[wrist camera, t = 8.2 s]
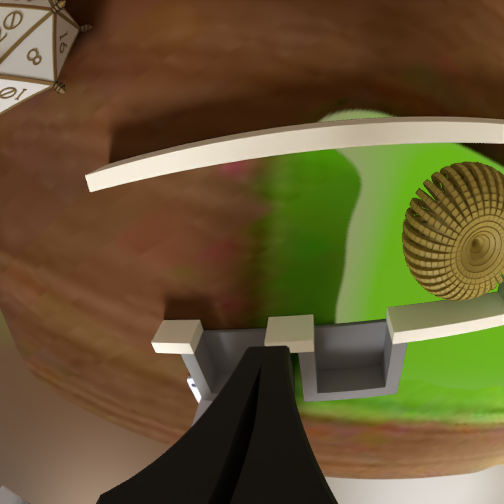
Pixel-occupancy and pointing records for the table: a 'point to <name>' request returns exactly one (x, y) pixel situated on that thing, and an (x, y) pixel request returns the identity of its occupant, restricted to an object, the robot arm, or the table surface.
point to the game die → (33, 48)
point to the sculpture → (457, 232)
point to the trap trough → (302, 326)
